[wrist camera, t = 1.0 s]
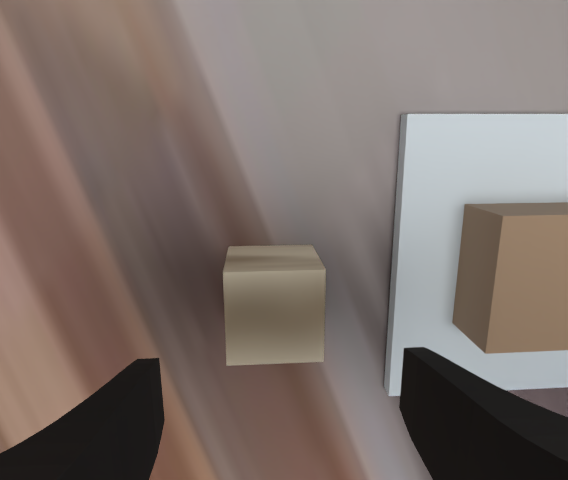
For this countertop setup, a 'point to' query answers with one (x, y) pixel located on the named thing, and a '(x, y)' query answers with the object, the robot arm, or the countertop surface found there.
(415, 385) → the robot arm
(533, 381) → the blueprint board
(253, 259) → the maple block
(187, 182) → the countertop surface
